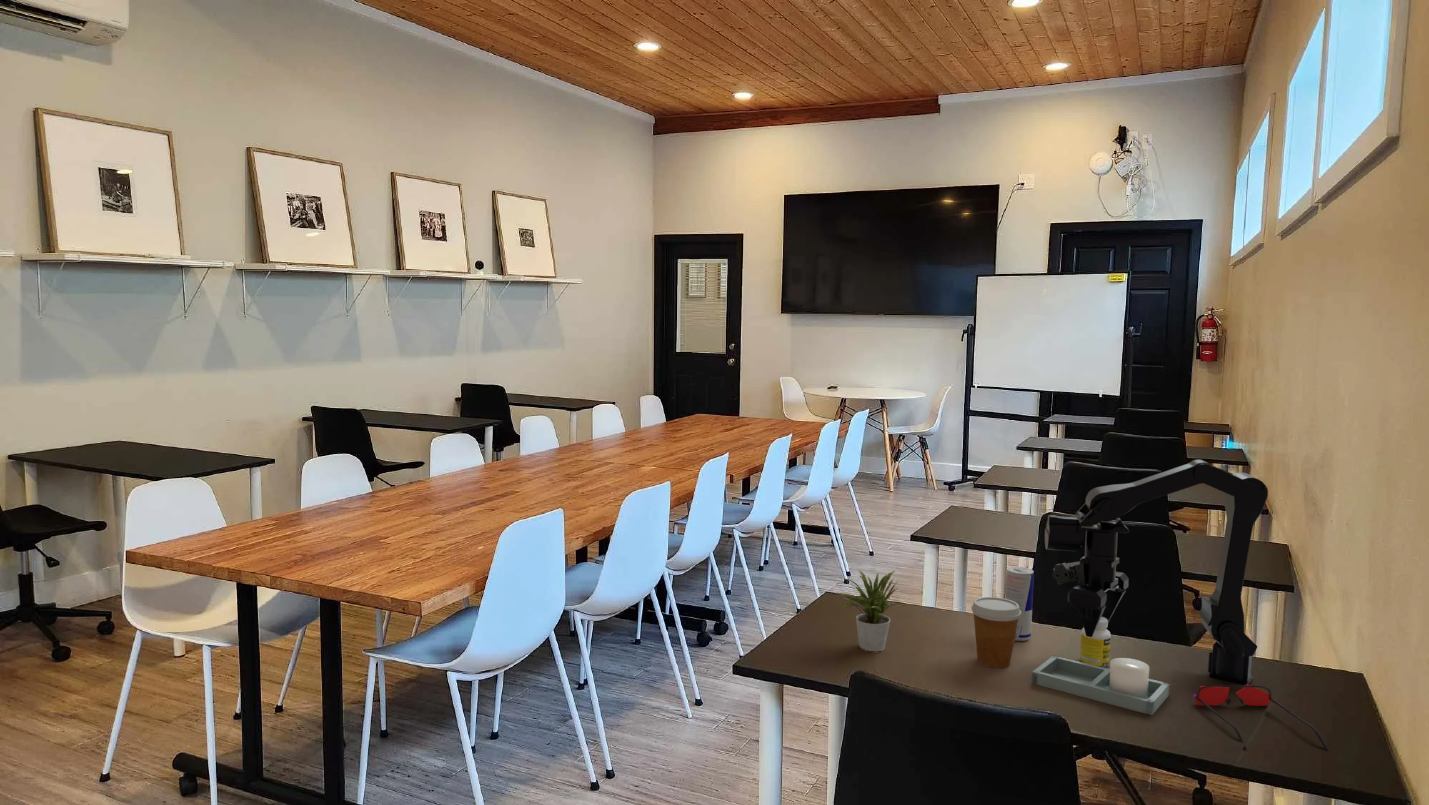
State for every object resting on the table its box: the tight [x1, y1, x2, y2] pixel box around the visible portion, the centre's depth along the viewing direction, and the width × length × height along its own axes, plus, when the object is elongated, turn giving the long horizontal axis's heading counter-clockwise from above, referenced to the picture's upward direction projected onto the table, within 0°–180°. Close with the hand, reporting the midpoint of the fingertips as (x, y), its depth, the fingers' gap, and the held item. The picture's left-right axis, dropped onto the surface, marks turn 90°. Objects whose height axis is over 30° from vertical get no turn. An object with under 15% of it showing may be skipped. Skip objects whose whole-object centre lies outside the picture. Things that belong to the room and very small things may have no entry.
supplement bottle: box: [1079, 617, 1112, 668], centre depth 185 cm, size 5×5×10 cm
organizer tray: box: [1031, 655, 1170, 716], centre depth 172 cm, size 21×11×3 cm, turn 50°
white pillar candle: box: [1109, 657, 1150, 699], centre depth 168 cm, size 6×6×6 cm
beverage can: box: [1004, 566, 1035, 642], centre depth 200 cm, size 6×6×15 cm
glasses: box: [1192, 684, 1330, 752], centre depth 158 cm, size 14×16×5 cm
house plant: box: [837, 568, 903, 652], centre depth 194 cm, size 14×14×16 cm
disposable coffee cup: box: [971, 596, 1021, 669], centre depth 186 cm, size 10×10×12 cm
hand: (1096, 630), depth 184 cm, fingers open, 9 cm apart
